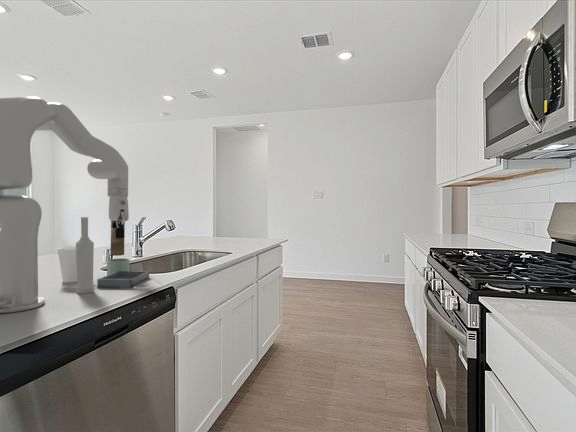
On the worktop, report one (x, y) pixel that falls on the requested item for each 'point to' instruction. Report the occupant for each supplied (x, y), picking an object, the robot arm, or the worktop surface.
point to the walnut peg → (116, 244)
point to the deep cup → (117, 265)
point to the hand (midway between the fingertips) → (117, 237)
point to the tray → (122, 279)
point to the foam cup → (68, 263)
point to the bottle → (84, 260)
